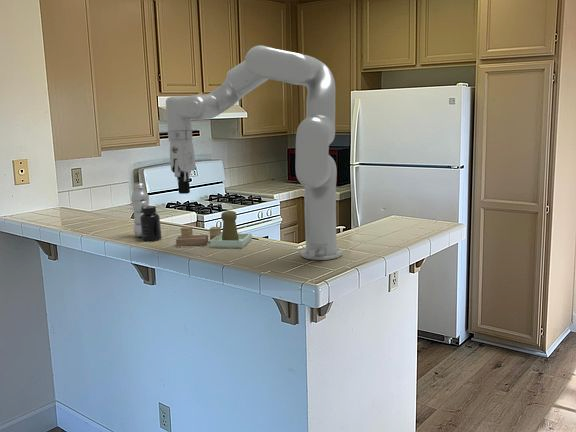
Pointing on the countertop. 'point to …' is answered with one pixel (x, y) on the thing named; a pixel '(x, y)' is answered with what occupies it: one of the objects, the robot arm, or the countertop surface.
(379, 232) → the countertop surface
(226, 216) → the cork
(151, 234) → the supplement bottle
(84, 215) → the countertop surface
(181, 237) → the wooden block
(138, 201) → the plastic bottle
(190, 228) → the bench dogs
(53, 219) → the countertop surface
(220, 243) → the tray
